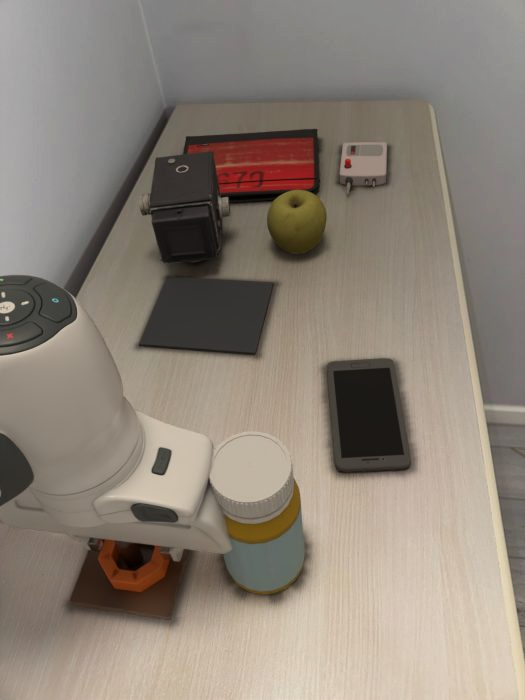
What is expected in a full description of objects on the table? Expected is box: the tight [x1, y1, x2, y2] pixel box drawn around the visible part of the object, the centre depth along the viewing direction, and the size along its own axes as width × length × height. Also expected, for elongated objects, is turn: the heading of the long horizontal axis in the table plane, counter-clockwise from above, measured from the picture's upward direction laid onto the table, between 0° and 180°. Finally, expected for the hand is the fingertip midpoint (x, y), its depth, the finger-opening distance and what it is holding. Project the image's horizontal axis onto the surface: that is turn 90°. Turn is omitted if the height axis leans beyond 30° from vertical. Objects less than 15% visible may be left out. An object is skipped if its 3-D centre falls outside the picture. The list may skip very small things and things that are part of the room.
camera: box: [138, 151, 231, 264], centre depth 87 cm, size 11×11×15 cm
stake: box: [68, 540, 190, 621], centre depth 59 cm, size 9×9×5 cm
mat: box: [138, 276, 275, 356], centre depth 82 cm, size 14×12×1 cm
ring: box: [98, 539, 170, 592], centre depth 59 cm, size 6×6×2 cm
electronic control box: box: [338, 141, 388, 196], centre depth 99 cm, size 7×16×3 cm, turn 172°
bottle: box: [209, 430, 306, 595], centre depth 54 cm, size 7×7×15 cm
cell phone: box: [326, 357, 412, 473], centre depth 69 cm, size 7×14×1 cm, turn 0°
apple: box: [266, 190, 328, 254], centre depth 87 cm, size 8×8×7 cm
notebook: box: [182, 128, 321, 204], centre depth 102 cm, size 16×2×21 cm
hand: (136, 548), depth 59 cm, fingers closed on ring, 6 cm apart
